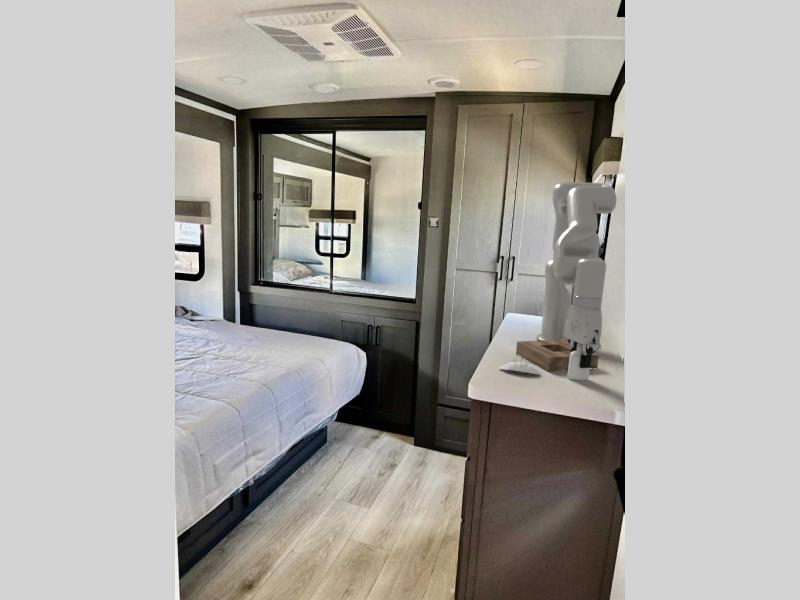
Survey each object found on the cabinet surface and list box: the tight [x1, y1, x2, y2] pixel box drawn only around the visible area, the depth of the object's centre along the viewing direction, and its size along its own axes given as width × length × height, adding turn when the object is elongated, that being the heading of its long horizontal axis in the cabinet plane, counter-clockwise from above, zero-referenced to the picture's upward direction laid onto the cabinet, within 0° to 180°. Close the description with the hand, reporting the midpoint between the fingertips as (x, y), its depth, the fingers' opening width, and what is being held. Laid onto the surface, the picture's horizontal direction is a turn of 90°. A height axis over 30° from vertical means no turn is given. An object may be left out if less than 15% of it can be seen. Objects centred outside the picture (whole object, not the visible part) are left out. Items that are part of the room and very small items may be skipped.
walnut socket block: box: [515, 340, 600, 373], centre depth 145 cm, size 18×18×4 cm
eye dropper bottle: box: [567, 343, 591, 382], centre depth 128 cm, size 4×6×12 cm
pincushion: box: [499, 353, 541, 376], centre depth 132 cm, size 12×6×6 cm, turn 72°
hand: (579, 364), depth 128 cm, fingers closed on eye dropper bottle, 3 cm apart
